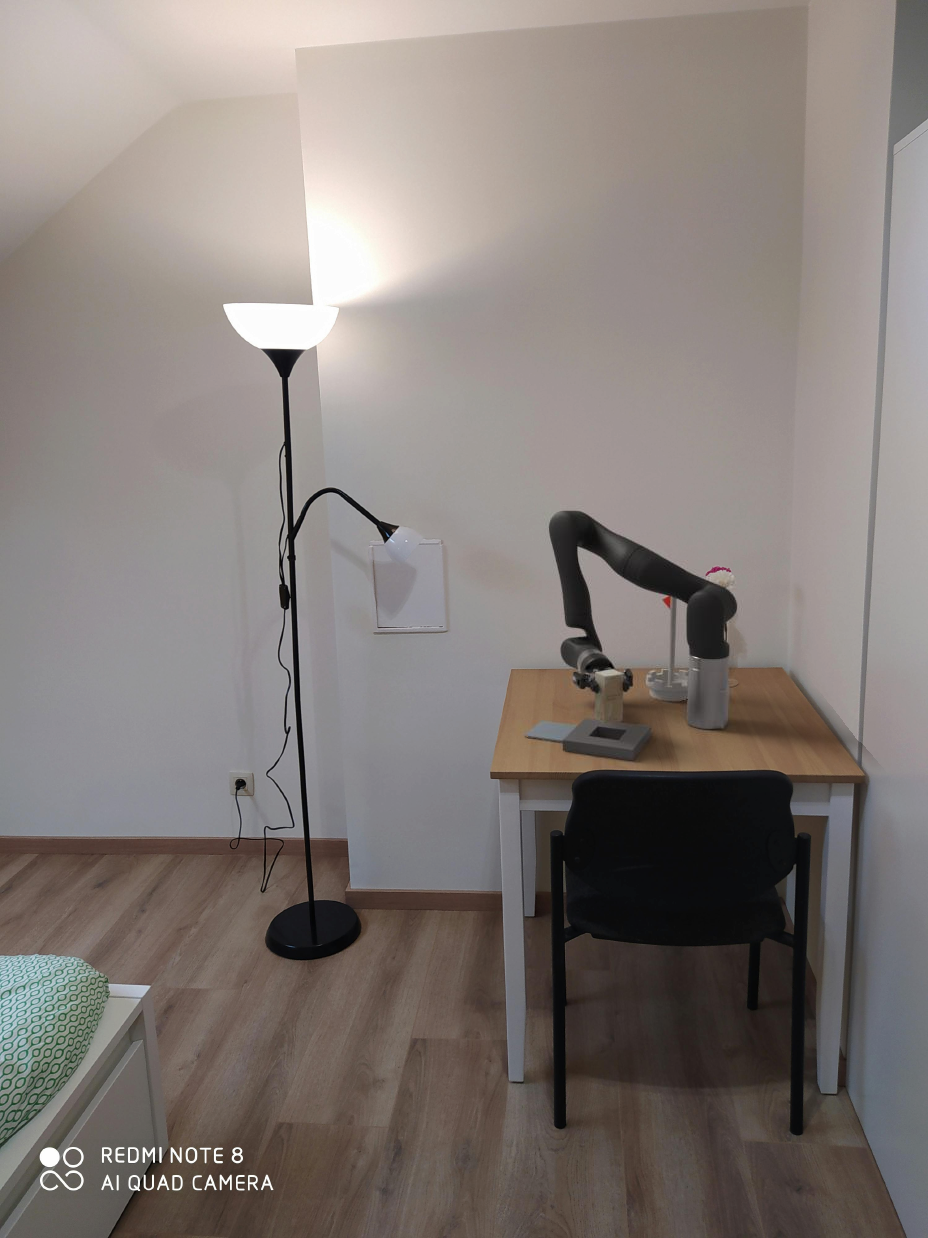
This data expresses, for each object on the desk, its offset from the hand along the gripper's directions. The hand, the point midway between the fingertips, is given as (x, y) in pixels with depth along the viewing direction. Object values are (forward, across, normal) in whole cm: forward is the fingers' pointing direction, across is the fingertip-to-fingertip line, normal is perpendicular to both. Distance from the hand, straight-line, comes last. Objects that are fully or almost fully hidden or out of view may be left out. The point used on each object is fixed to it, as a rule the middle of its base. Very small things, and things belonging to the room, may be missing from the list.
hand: (611, 688), depth 203 cm
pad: (-11, -11, +14) cm, 21 cm away
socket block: (-3, 0, +14) cm, 14 cm away
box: (-2, 0, +8) cm, 9 cm away
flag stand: (-36, +24, +14) cm, 46 cm away
